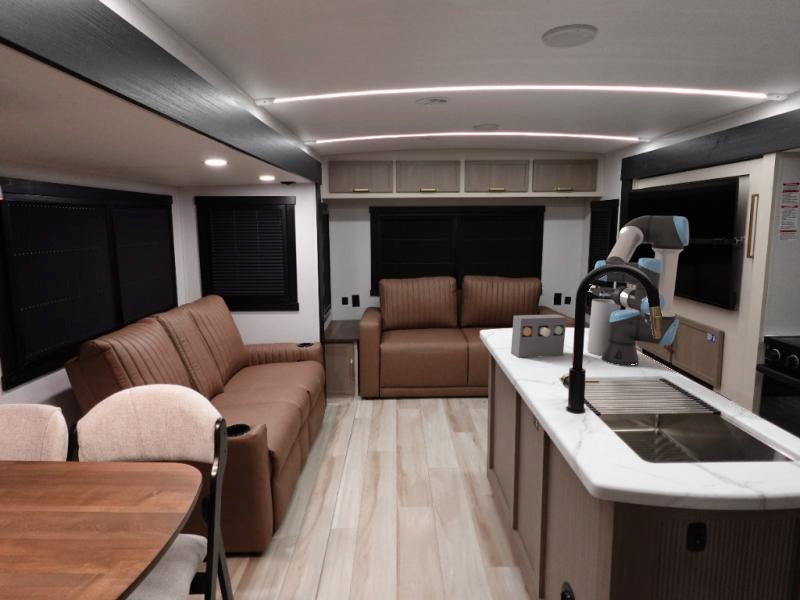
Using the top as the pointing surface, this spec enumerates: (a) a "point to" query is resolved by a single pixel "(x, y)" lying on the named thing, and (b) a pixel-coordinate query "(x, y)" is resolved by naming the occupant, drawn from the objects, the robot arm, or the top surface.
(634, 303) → the robot arm
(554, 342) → the console
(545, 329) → the cream button
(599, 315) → the cylinder vase
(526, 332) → the terracotta button
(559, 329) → the sage button
